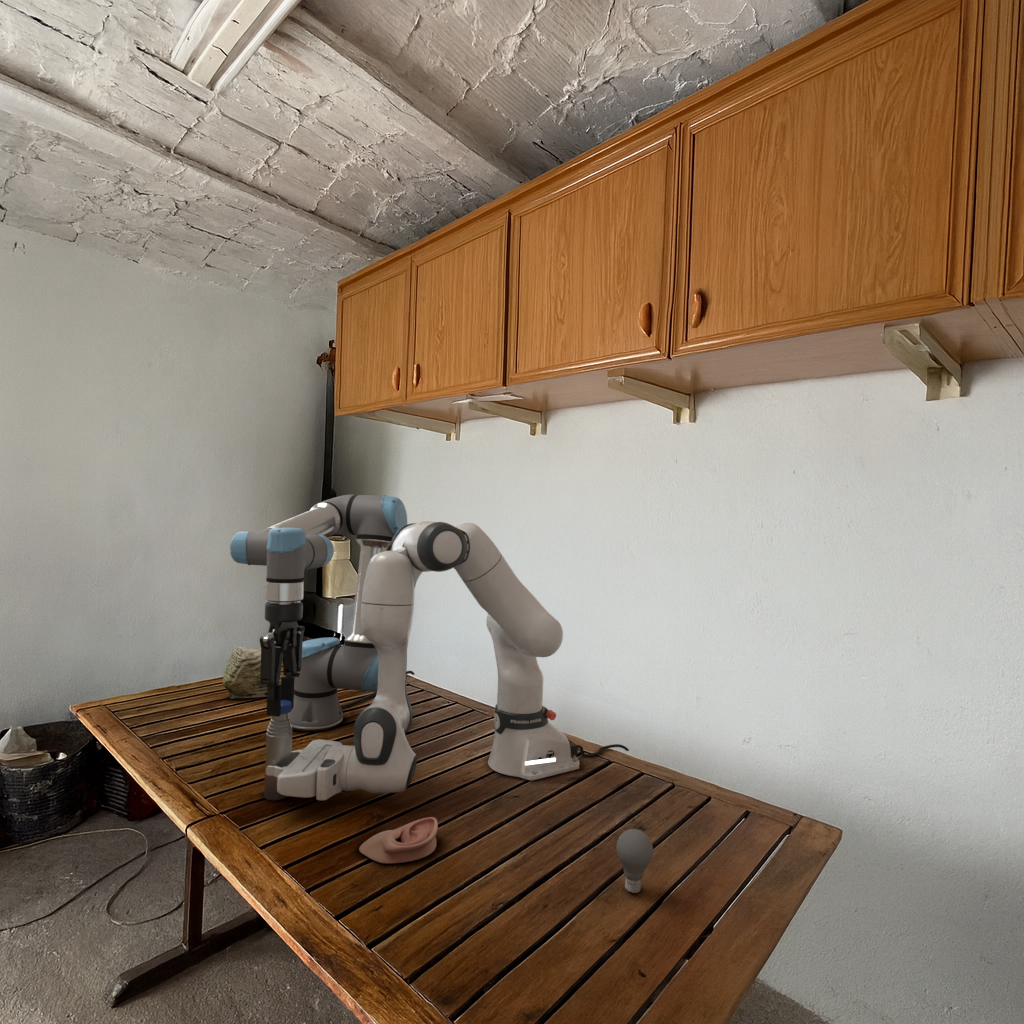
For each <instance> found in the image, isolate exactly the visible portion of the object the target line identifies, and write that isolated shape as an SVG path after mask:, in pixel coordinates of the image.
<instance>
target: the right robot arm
mask: <svg viewBox="0 0 1024 1024" xmlns="http://www.w3.org/2000/svg"><path fill="white" fill-rule="evenodd" d="M452 569H454V570H455V571H456V573H457V575H458V577H459V578H460V579H461V581H462V582H463V584H464V585H465V586H466V588H467V590H468V591H469V592H470V594H471V595H472V596H473V598H474V600H475V601H476V602H477V604H478V605H479V606H480V607H481V608H482V609H483V610H484V611H485V612H486V613H487V615H486V619H485V621H486V628H487V630H488V632H489V634H490V636H491V640H492V641H491V642H492V646H493V651H494V656H495V663H496V671H497V693H496V694H497V695H496V696H497V697H496V699H497V700H496V705H495V706H494V715H493V726H494V734H493V735H494V736H493V741H492V746H491V750H490V754H489V757H488V760H487V765H488V767H489V768H490V769H491V770H492V771H494V772H497V773H499V774H502V775H505V776H508V777H509V776H510V777H516V778H521V779H523V780H525V781H526V780H527V781H536V780H540V779H544V778H548V777H552V776H556V775H559V774H565V773H568V772H572V771H575V770H579V769H580V766H581V765H580V760H579V758H578V754H579V753H580V754H579V755H581V756H582V757H584V758H592V757H595V756H599V755H600V754H601V753H602V751H604V750H607V749H611V748H621V749H623V750H625V751H626V752H629V751H630V750H629V748H628V747H627V746H625V745H623V744H619V743H615V744H608V745H603V746H600V747H599V748H598V751H596V752H592V753H584V747H583V746H582V745H579V744H576V742H573V741H572V740H571V739H570V738H568V737H567V736H566V735H565V733H563V732H562V731H561V730H559V729H558V727H556V726H555V725H554V724H552V723H551V722H550V721H555V720H556V718H557V713H556V712H555V711H553V710H552V709H549V708H547V707H546V706H544V705H543V701H544V700H543V697H544V674H543V671H542V670H541V668H540V665H539V663H538V660H537V659H538V658H548V657H550V656H553V655H554V654H556V653H557V651H558V650H559V649H560V647H561V646H562V643H563V640H564V630H563V626H562V625H561V622H559V620H558V619H556V618H555V617H554V616H553V615H552V614H551V613H550V612H549V611H548V610H547V609H546V608H545V607H544V606H543V605H542V603H541V602H540V601H539V600H538V599H537V597H536V596H535V595H534V594H533V593H532V592H531V591H530V590H529V588H527V587H526V586H525V585H524V584H523V582H522V581H521V580H520V579H519V577H518V575H516V574H515V571H514V570H513V569H512V568H511V565H510V564H509V562H508V561H507V560H506V558H505V557H504V556H503V554H502V552H501V551H500V549H499V548H498V547H497V545H496V544H495V542H494V541H493V540H492V539H491V538H490V536H489V535H488V534H487V533H486V532H485V531H484V530H483V529H482V528H481V527H480V526H479V525H477V524H476V523H473V522H464V523H461V524H458V525H456V526H454V525H452V524H450V523H448V522H445V521H444V522H443V521H425V520H424V521H420V522H412V523H407V525H405V526H403V527H402V528H400V529H399V530H398V531H397V532H396V533H395V535H394V537H393V538H392V541H391V543H390V545H389V546H388V548H387V550H386V551H383V552H380V553H378V554H376V555H374V556H373V557H372V558H371V559H370V561H369V564H368V568H367V571H366V576H365V580H364V586H363V593H362V603H361V623H362V631H363V634H364V635H365V637H366V638H367V639H368V640H369V641H370V642H371V643H372V644H373V645H374V646H375V648H376V650H377V653H378V690H377V694H376V695H375V697H374V699H373V701H372V702H371V704H370V705H367V707H366V708H365V709H363V711H361V712H360V713H359V715H358V716H357V718H356V719H355V721H354V725H353V742H354V745H347V744H343V743H342V742H340V741H336V740H329V739H322V738H319V739H312V740H311V742H309V743H308V745H307V746H306V747H304V748H303V749H296V750H292V758H291V763H290V764H289V765H288V766H287V767H283V768H282V767H278V766H277V765H278V764H270V765H269V766H268V767H267V768H266V774H267V775H270V776H275V777H277V778H278V779H277V792H278V793H280V794H281V795H285V796H288V797H292V798H302V799H303V798H306V799H307V798H313V797H315V799H316V801H327V800H328V799H330V798H332V797H333V796H335V795H336V794H340V793H342V792H354V791H364V792H367V793H370V794H371V793H373V794H395V793H396V794H397V793H402V792H404V791H405V790H407V789H408V788H409V786H410V785H411V783H412V782H413V778H414V776H415V773H416V770H417V769H416V768H417V764H418V757H417V754H416V752H415V751H413V749H412V747H411V745H410V743H409V740H408V739H407V735H406V733H407V732H408V731H409V730H410V728H411V726H412V723H413V719H414V713H413V708H412V704H411V702H410V698H409V696H408V691H407V674H406V671H408V670H407V665H408V646H409V642H410V641H409V640H410V635H411V632H412V625H413V619H414V611H415V589H416V585H417V582H418V580H419V578H420V576H421V575H422V574H423V573H428V572H437V573H441V572H446V571H450V570H452ZM549 720H550V721H549ZM579 749H580V750H579ZM578 752H579V753H578Z"/></svg>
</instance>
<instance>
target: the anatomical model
mask: <svg viewBox="0 0 1024 1024" xmlns="http://www.w3.org/2000/svg"><path fill="white" fill-rule="evenodd" d="M438 830H439V822H438V819H437V818H436V817H434V816H428V817H423V818H419V819H417V820H414V821H410V822H409V823H407V824H404V825H401V826H398V827H397V828H395V829H388V830H383V831H381V832H378V833H376V834H374V835H372V836H371V837H369V838H368V839H366V840H365V841H364V842H363V843H362V844H361V845H360V846H359V848H358V850H359V852H360V853H361V854H362V855H364V857H366V858H368V859H369V860H372V861H374V862H377V863H380V864H399V863H400V864H401V863H409V862H413V861H417V860H420V859H422V858H426V857H427V856H429V855H431V854H432V853H433V852H435V850H436V847H437V837H436V836H437V834H438Z"/></svg>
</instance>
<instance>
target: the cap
mask: <svg viewBox="0 0 1024 1024" xmlns="http://www.w3.org/2000/svg"><path fill="white" fill-rule="evenodd" d="M291 710H292V702H291V701H289V700H281V713H280V715H282V714H287V713H289V712H291Z"/></svg>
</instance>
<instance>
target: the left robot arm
mask: <svg viewBox="0 0 1024 1024" xmlns="http://www.w3.org/2000/svg"><path fill="white" fill-rule="evenodd" d="M405 525H408V513H407V510H406V506H405V504H404V501H402V499H400V497H397V496H391V495H385V494H384V495H377V494H376V495H375V494H343V495H339V496H336V497H332V498H329V499H326V500H322V501H321V502H317V503H316V504H314V505H313V506H312V507H311V508H310V510H308V511H305V512H303V513H300V514H298V515H295V516H293V517H291V518H288V519H286V520H283V521H281V522H279V523H276V524H273V525H271V526H268V527H266V528H263V529H261V530H258V531H250V530H247V531H238V532H236V533H235V534H234V535H233V537H232V538H231V539H230V540H231V541H230V545H229V550H230V551H229V552H230V557H231V559H232V560H233V561H234V562H235V563H236V564H243V565H247V566H264V567H265V566H266V578H265V583H266V584H265V600H266V601H267V602H265V604H264V620H265V621H266V622H268V623H269V626H268V631H267V635H265V636H262V635H261V636H260V637H259V645H260V648H261V674H260V683H261V684H265V685H267V696H266V716H269V717H272V716H276V717H279V716H280V713H281V700H289V701H291V702H292V710H291V712H289V713H288V717H289V720H290V723H291V727H292V731H294V732H295V731H296V732H301V733H316V732H325V731H329V730H332V729H335V728H337V727H339V726H340V725H342V723H343V722H344V714H343V709H345V708H347V707H348V708H349V707H350V706H353V705H356V704H359V703H361V702H364V701H366V700H368V699H370V698H373V697H374V696H376V694H377V690H378V653H377V650H376V648H375V646H374V645H373V644H372V643H371V642H370V641H369V640H368V639H367V638H366V637H365V635H364V634H363V631H362V623H361V603H362V593H363V586H364V580H365V576H366V571H367V568H368V564H369V561H370V559H371V558H372V557H373V556H374V555H376V554H378V553H380V552H383V551H386V550H387V548H388V546H389V545H390V543H391V541H392V538H393V537H394V535H395V533H396V532H397V531H398V530H399V529H400V528H402V527H403V526H405ZM333 535H351V536H356V539H355V541H356V543H357V544H358V545H359V546H360V547H359V548H360V553H359V561H358V570H357V579H356V587H355V595H354V606H353V613H352V623H351V630H350V634H349V635H348V636H346V637H345V638H344V643H343V644H340V643H341V641H340V639H339V638H338V637H334V636H333V637H318V638H313V639H307V640H304V633H305V629H306V627H305V626H304V625H299V624H298V622H299V621H301V620H303V617H304V616H303V615H304V613H303V612H304V603H303V602H302V601H303V600H304V593H305V592H304V591H305V589H304V586H305V585H304V583H305V570H311V569H319V568H321V567H324V566H326V565H328V564H329V563H330V562H331V561H332V559H333V557H334V553H335V548H334V544H333V542H332V541H331V539H330V538H329V537H331V536H333ZM303 640H304V641H303ZM282 668H283V669H282ZM282 670H283V676H284V677H281V684H279V680H280V674H281V673H282ZM409 674H411V675H412V676H414V675H416V674H415V672H414V671H412V670H406V675H409ZM338 689H339V690H340V689H341V690H349V691H350V690H351V691H359V692H362V693H366V692H368V693H369V692H370V694H368V695H366V696H365V695H364V696H363V697H361V698H357V699H354V700H353V701H350V702H347V703H344V704H341V702H340V699H339V695H338ZM371 692H372V693H371Z"/></svg>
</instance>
